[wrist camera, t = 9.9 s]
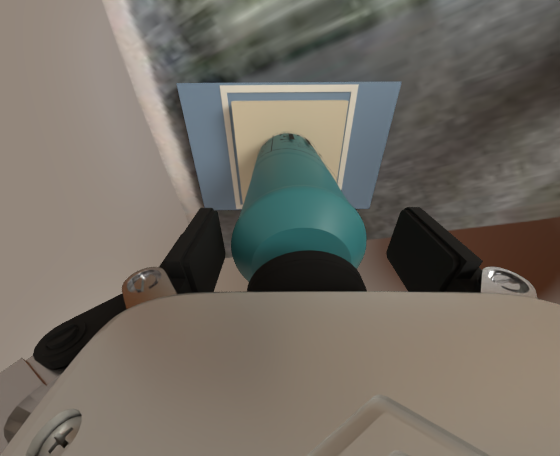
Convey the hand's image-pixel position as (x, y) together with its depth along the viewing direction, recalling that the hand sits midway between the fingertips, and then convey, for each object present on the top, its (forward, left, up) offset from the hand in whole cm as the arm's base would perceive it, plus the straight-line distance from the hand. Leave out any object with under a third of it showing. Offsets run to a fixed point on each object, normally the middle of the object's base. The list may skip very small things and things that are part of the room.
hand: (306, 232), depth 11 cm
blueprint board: (0, 0, -17) cm, 17 cm away
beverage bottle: (+1, 0, -14) cm, 14 cm away
